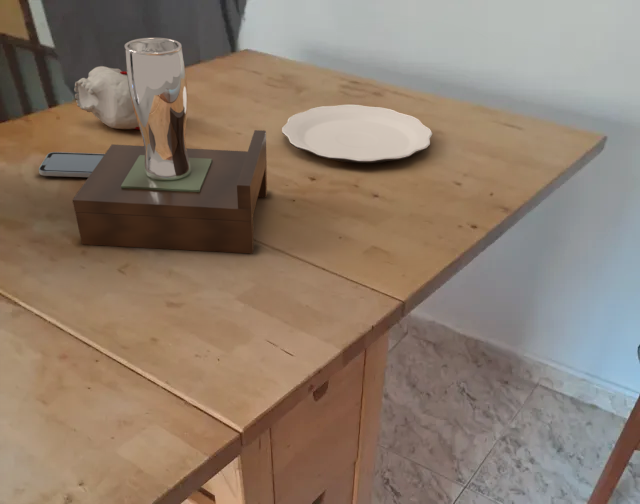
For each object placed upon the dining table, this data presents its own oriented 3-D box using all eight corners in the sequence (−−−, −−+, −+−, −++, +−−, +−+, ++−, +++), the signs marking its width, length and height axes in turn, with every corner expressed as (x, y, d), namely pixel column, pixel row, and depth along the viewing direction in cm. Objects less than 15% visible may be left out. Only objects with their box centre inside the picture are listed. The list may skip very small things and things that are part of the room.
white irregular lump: (75, 119, 118) (156, 116, 126) (99, 140, 112) (184, 135, 119) (70, 61, 113) (156, 62, 120) (95, 80, 106) (184, 79, 114)
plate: (308, 178, 105) (309, 166, 104) (266, 121, 122) (266, 110, 121) (455, 163, 111) (457, 151, 110) (395, 110, 129) (396, 100, 127)
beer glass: (204, 167, 92) (194, 42, 81) (175, 186, 87) (161, 57, 77) (161, 157, 94) (145, 34, 83) (130, 175, 89) (110, 47, 79)
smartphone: (140, 175, 102) (36, 171, 101) (141, 181, 103) (38, 177, 102) (147, 155, 107) (48, 151, 106) (147, 161, 108) (50, 157, 107)
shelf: (82, 244, 88) (66, 176, 82) (118, 185, 101) (107, 122, 95) (252, 253, 88) (250, 185, 82) (267, 193, 101) (265, 130, 95)
